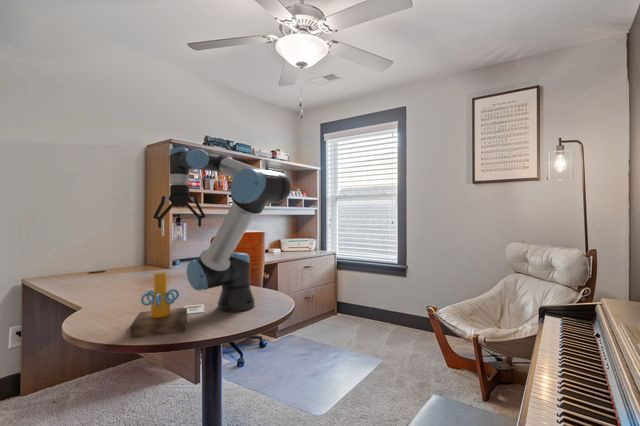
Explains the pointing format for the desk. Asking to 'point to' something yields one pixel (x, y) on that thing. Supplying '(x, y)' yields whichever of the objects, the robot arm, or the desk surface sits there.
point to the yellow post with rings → (160, 297)
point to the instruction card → (195, 309)
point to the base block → (159, 323)
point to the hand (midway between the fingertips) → (180, 235)
